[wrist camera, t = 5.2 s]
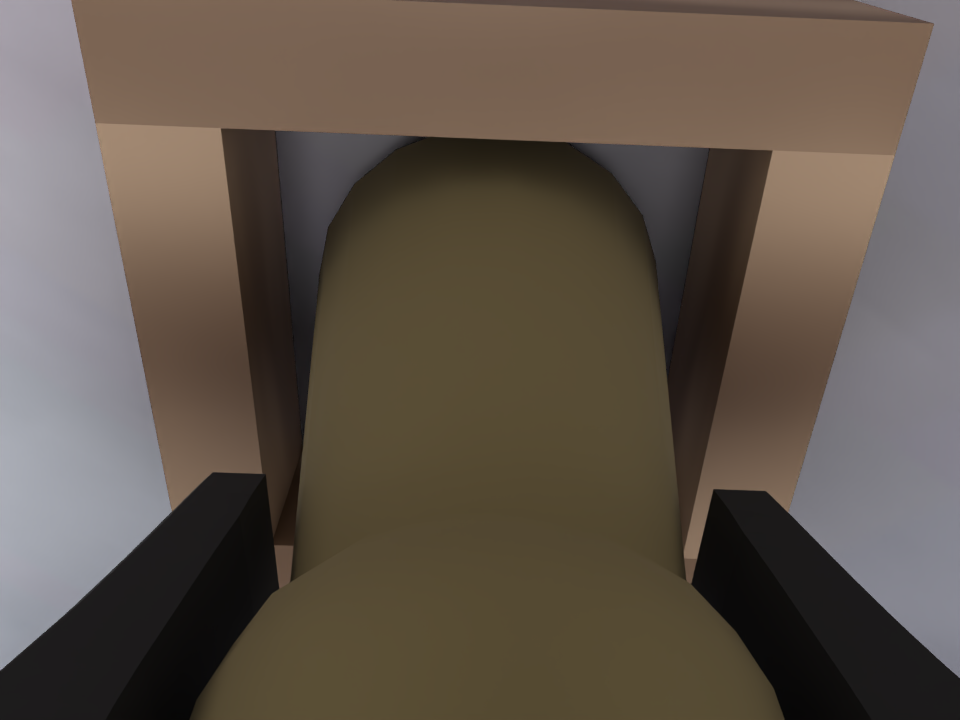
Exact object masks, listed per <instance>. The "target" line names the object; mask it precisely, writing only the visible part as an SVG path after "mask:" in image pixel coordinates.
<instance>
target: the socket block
mask: <svg viewBox="0 0 960 720" xmlns="http://www.w3.org/2000/svg"><path fill="white" fill-rule="evenodd" d="M71 2H72V7H73V12H74V17H75V22H76V27H77V32H78V37H79V42H80V47H81V52H82V57H83V62H84V68H85V73H86V78H87V83H88V88H89V93H90V98H91V103H92V108H93V113H94V118H95V123H96V128H97V134H98V139H99V144H100V149H101V154H102V159H103V164H104V169H105V174H106V179H107V184H108V189H109V194H110V200H111V205H112V210H113V215H114V220H115V225H116V230H117V235H118V240H119V245H120V250H121V255H122V260H123V266H124V271H125V276H126V281H127V286H128V291H129V296H130V301H131V306H132V311H133V316H134V321H135V326H136V332H137V337H138V342H139V347H140V352H141V357H142V362H143V367H144V372H145V377H146V382H147V387H148V392H149V397H150V403H151V408H152V413H153V418H154V423H155V428H156V433H157V438H158V443H159V448H160V453H161V458H162V463H163V469H164V474H165V479H166V484H167V489H168V494H169V499H170V504H171V509H172V511H173V510H174V509H175V508H176V507H177V506H178V505H179V504H180V503H181V502H182V501H183V500H184V499H185V498H186V497H187V496H188V495H189V494H190V493H191V492H192V491H193V490H194V489H195V488H196V487H197V486H198V485H199V484H200V483H201V482H203V481H204V480H205V479H206V478H207V477H208V476H209V475H210V474H211V473H213V472H222V473H252V474H266V480H267V489H268V497H269V505H270V514H271V522H272V531H273V539H274V548H275V556H276V565H277V573H278V581H279V589H280V588H282V587H283V586H285V585H287V584H288V583H290V578H291V568H292V557H293V547H294V536H295V526H296V515H297V505H298V494H299V484H300V473H301V462H302V452H303V446H302V435H301V423H300V412H299V400H298V389H297V378H296V366H295V355H294V343H293V332H292V320H291V309H290V297H289V286H288V275H287V263H286V252H285V240H284V229H283V217H282V206H281V195H280V183H279V172H278V160H277V149H276V137H275V130H277V131H302V132H327V133H351V134H376V135H401V136H426V137H451V138H475V139H500V140H525V141H550V142H575V143H599V144H624V145H649V146H674V147H699V148H710V150H709V156H708V161H707V167H706V172H705V178H704V183H703V189H702V194H701V199H700V205H699V210H698V216H697V221H696V227H695V232H694V238H693V243H692V249H691V254H690V260H689V265H688V271H687V276H686V282H685V287H684V293H683V298H682V304H681V309H680V315H679V320H678V326H677V331H676V337H675V342H674V348H673V353H672V359H671V364H670V370H669V375H668V381H667V384H668V394H669V404H670V415H671V425H672V436H673V446H674V457H675V467H676V477H677V488H678V498H679V509H680V519H681V530H682V540H683V550H684V561H685V571H686V581H687V582H689V583H690V584H691V583H692V578H693V574H694V570H695V565H696V561H697V557H698V553H699V548H700V544H701V540H702V536H703V531H704V527H705V523H706V519H707V514H708V510H709V506H710V502H711V497H712V493H713V489H725V490H755V491H766V492H768V493H769V494H770V495H771V496H772V497H773V498H774V499H775V500H776V501H777V502H778V503H779V504H780V505H781V506H782V507H783V508H784V509H785V510H786V511H787V512H788V511H789V508H790V504H791V501H792V498H793V494H794V491H795V488H796V484H797V481H798V478H799V474H800V471H801V468H802V464H803V461H804V457H805V454H806V451H807V447H808V444H809V441H810V437H811V434H812V431H813V427H814V424H815V421H816V417H817V414H818V411H819V407H820V404H821V401H822V397H823V394H824V391H825V387H826V384H827V380H828V377H829V374H830V370H831V367H832V364H833V360H834V357H835V354H836V350H837V347H838V344H839V340H840V337H841V334H842V330H843V327H844V324H845V320H846V317H847V314H848V310H849V307H850V304H851V300H852V297H853V293H854V290H855V287H856V283H857V280H858V277H859V273H860V270H861V267H862V263H863V260H864V257H865V253H866V250H867V247H868V243H869V240H870V237H871V233H872V230H873V227H874V223H875V220H876V216H877V213H878V210H879V206H880V203H881V200H882V196H883V193H884V190H885V186H886V183H887V180H888V176H889V173H890V170H891V166H892V163H893V160H894V156H895V153H896V150H897V146H898V143H899V139H900V136H901V133H902V129H903V126H904V123H905V119H906V116H907V113H908V109H909V106H910V103H911V99H912V96H913V93H914V89H915V86H916V83H917V79H918V76H919V73H920V69H921V66H922V62H923V59H924V56H925V52H926V49H927V46H928V42H929V39H930V36H931V32H932V29H933V26H934V24H933V23H930V22H926V21H923V20H920V19H916V18H913V17H909V16H906V15H902V14H899V13H895V12H892V11H888V10H885V9H882V8H878V7H875V6H871V5H868V4H864V3H861V2H857V1H854V0H71Z"/></svg>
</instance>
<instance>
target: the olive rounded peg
mask: <svg viewBox="0 0 960 720" xmlns="http://www.w3.org/2000/svg"><path fill="white" fill-rule="evenodd" d="M189 720H785V719H784V716H783V713H782V710H781V708H780V705H779V702H778V699H777V696H776V693H775V691H774V688H773V687H772V685H771V684H770V682H769V681H768V679H767V678H766V676H765V675H764V673H763V672H762V670H761V669H760V667H759V666H758V664H757V663H756V661H755V660H754V658H753V656H752V655H751V653H750V652H749V650H748V649H747V647H746V646H745V644H744V643H743V641H742V640H741V638H740V637H739V635H738V634H737V632H736V631H735V630H734V629H733V628H732V627H731V626H730V625H729V624H728V623H727V622H726V621H725V619H724V618H723V617H722V616H721V615H720V614H719V613H718V612H717V611H716V610H715V609H714V608H713V607H712V606H711V605H710V604H709V603H708V602H707V601H706V599H705V598H704V597H703V596H702V595H701V594H700V593H699V592H698V591H697V590H696V589H695V588H694V587H693V586H692V585H691V584H690V583H689V582H687V581H686V571H685V561H684V550H683V540H682V530H681V519H680V509H679V498H678V488H677V477H676V467H675V457H674V446H673V436H672V425H671V415H670V404H669V394H668V384H667V373H666V363H665V352H664V342H663V331H662V321H661V311H660V300H659V290H658V279H657V269H656V261H655V258H654V254H653V251H652V247H651V244H650V240H649V236H648V233H647V229H646V226H645V222H644V219H643V215H642V214H641V213H640V211H639V210H638V209H637V207H636V206H635V204H634V203H633V202H632V200H631V199H630V198H629V196H628V195H627V194H626V192H625V191H624V189H623V188H622V187H621V185H620V184H619V183H618V181H617V180H616V179H615V177H614V176H613V174H612V173H610V172H609V171H607V170H606V169H604V168H603V167H601V166H600V165H598V164H597V163H596V162H594V161H593V160H591V159H590V158H588V157H587V156H585V155H584V154H582V153H581V152H579V151H578V150H576V149H575V148H573V147H572V146H571V145H569V144H568V143H566V142H550V141H525V140H500V139H475V138H451V137H428V138H426V139H423V140H420V141H418V142H415V143H412V144H410V145H407V146H404V147H402V148H399V149H397V150H395V151H394V152H393V153H392V154H390V155H389V156H388V157H387V158H386V159H384V160H383V161H382V162H381V163H379V164H378V165H377V166H376V167H374V168H373V169H372V170H371V171H370V172H368V173H367V174H366V175H365V176H363V177H362V178H361V179H360V180H359V181H357V182H356V183H355V184H354V185H353V187H352V189H351V190H350V192H349V194H348V195H347V197H346V199H345V200H344V202H343V204H342V205H341V207H340V209H339V210H338V212H337V214H336V215H335V217H334V219H333V220H332V222H331V224H330V225H329V227H328V231H327V237H326V242H325V247H324V253H323V258H322V263H321V269H320V274H319V284H318V294H317V305H316V315H315V326H314V336H313V347H312V357H311V368H310V378H309V389H308V399H307V410H306V420H305V431H304V441H303V452H302V462H301V473H300V484H299V494H298V505H297V515H296V526H295V536H294V547H293V557H292V568H291V578H290V583H288V584H287V585H285V586H283V587H282V588H280V589H279V590H277V591H275V592H274V593H272V594H271V595H270V597H269V598H268V599H267V601H266V602H265V603H264V604H263V606H262V607H261V608H260V610H259V611H258V612H257V614H256V615H255V616H254V617H253V619H252V620H251V621H250V623H249V624H248V625H247V627H246V628H245V629H244V630H243V632H242V633H241V634H240V636H239V637H238V638H237V640H236V641H235V642H234V644H233V645H232V647H231V648H230V650H229V651H228V653H227V654H226V656H225V657H224V659H223V660H222V662H221V663H220V665H219V666H218V668H217V669H216V671H215V673H214V674H213V676H212V677H211V679H210V680H209V682H208V683H207V685H206V686H205V688H204V689H203V691H202V692H201V694H200V695H199V697H198V698H197V700H196V703H195V705H194V708H193V711H192V714H191V717H190V719H189Z"/></svg>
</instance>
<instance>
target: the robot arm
mask: <svg viewBox="0 0 960 720" xmlns="http://www.w3.org/2000/svg"><path fill="white" fill-rule="evenodd" d="M691 585H692V586H693V587H694V588H695V589H696V590H697V591H698V592H699V593H700V594H701V595H702V596H703V597H704V598H705V599H706V601H707V602H708V603H709V604H710V605H711V606H712V607H713V608H714V609H715V610H716V611H717V612H718V613H719V614H720V615H721V616H722V617H723V618H724V619H725V621H726V622H727V623H728V624H729V625H730V626H731V627H732V628H733V629H734V630H735V631H736V632H737V634H738V635H739V637H740V638H741V640H742V641H743V643H744V644H745V646H746V647H747V649H748V650H749V652H750V653H751V655H752V656H753V658H754V660H755V661H756V663H757V664H758V666H759V667H760V669H761V670H762V672H763V673H764V675H765V676H766V678H767V679H768V681H769V682H770V684H771V685H772V687H773V688H774V691H775V693H776V696H777V699H778V702H779V705H780V708H781V710H782V713H783V716H784V719H785V720H960V678H959V677H958V676H956V675H955V674H954V673H953V672H952V671H951V670H950V669H948V668H947V667H946V666H945V665H944V664H943V663H942V662H941V661H940V660H939V659H937V658H936V657H935V656H934V655H933V654H932V653H931V652H930V651H929V650H928V649H927V648H925V647H924V646H923V645H922V644H921V643H920V642H919V641H918V640H917V639H916V638H915V637H914V636H912V635H911V634H910V633H909V632H908V631H907V630H906V629H905V628H904V627H903V626H902V625H901V624H900V623H899V622H898V621H897V620H896V619H894V618H893V617H892V616H891V615H890V614H889V613H888V612H887V611H886V610H885V609H884V608H883V607H882V606H881V605H880V604H879V603H878V602H877V601H876V600H875V599H874V598H873V597H872V596H871V595H870V594H869V593H868V592H867V591H866V590H865V589H864V588H863V587H862V586H861V585H860V584H858V583H857V582H856V581H855V580H854V579H853V578H852V577H851V576H850V575H849V574H848V573H847V572H846V571H845V570H844V569H843V568H842V567H841V566H840V565H839V564H838V563H837V562H836V561H835V560H834V559H833V558H832V557H831V556H830V555H829V554H828V553H827V551H826V550H825V549H824V548H823V547H822V546H821V545H820V544H819V543H818V542H817V541H816V540H815V539H814V538H813V537H812V536H811V535H810V534H809V533H808V532H807V531H806V530H805V529H804V528H803V527H802V526H801V525H800V524H799V523H798V522H797V521H796V520H795V519H794V518H793V517H792V516H791V515H790V514H789V513H788V512H787V511H786V510H785V509H784V508H783V507H782V506H781V505H780V504H779V503H778V502H777V501H776V500H775V499H774V498H773V497H772V496H771V495H770V494H769V493H768V492H766V491H755V490H725V489H713V493H712V497H711V502H710V506H709V510H708V514H707V519H706V523H705V527H704V531H703V536H702V540H701V544H700V548H699V553H698V557H697V561H696V565H695V570H694V574H693V578H692V583H691ZM277 590H279V581H278V573H277V565H276V556H275V548H274V539H273V531H272V522H271V514H270V505H269V497H268V489H267V480H266V474H252V473H222V472H213V473H211V474H210V475H209V476H208V477H207V478H206V479H205V480H204V481H203V482H201V483H200V484H199V485H198V486H197V487H196V488H195V489H194V490H193V491H192V492H191V493H190V494H189V495H188V496H187V497H186V498H185V499H184V500H183V501H182V502H181V503H180V504H179V505H178V506H177V507H176V508H175V509H174V510H173V511H172V512H171V513H170V514H169V515H168V516H167V517H166V518H165V519H164V520H163V521H162V522H161V523H160V524H159V525H158V526H157V527H156V528H155V529H154V530H153V531H152V532H151V533H150V534H149V535H148V536H147V537H146V538H145V539H144V540H143V541H142V542H141V543H140V544H139V545H138V546H137V547H136V548H135V549H134V550H133V551H132V552H131V553H130V554H129V555H128V556H127V557H126V558H125V559H124V560H123V561H121V562H120V563H119V564H118V565H117V566H116V567H115V568H114V569H113V570H112V571H111V572H110V573H109V574H108V575H107V576H106V577H105V578H103V579H102V580H101V581H100V582H99V583H98V584H97V585H96V586H95V587H94V588H93V589H92V590H91V591H90V592H89V593H88V594H87V595H85V596H84V597H83V598H82V599H81V600H80V601H79V602H78V603H77V604H76V605H75V606H74V607H73V608H72V609H70V610H69V611H68V612H67V613H66V614H65V615H64V616H63V617H62V618H61V619H59V620H58V621H57V622H56V623H55V624H54V625H52V626H51V627H50V628H49V629H48V630H47V631H46V632H44V633H43V634H42V635H41V636H40V637H39V638H37V639H36V640H35V641H34V642H33V643H32V644H31V645H29V646H28V647H27V648H26V649H25V650H24V651H22V652H21V653H20V654H19V655H18V656H17V657H16V658H14V659H13V660H12V661H11V662H10V663H9V664H7V665H6V666H5V667H4V668H3V669H2V670H1V671H0V720H189V719H190V717H191V714H192V711H193V708H194V705H195V703H196V700H197V698H198V697H199V695H200V694H201V692H202V691H203V689H204V688H205V686H206V685H207V683H208V682H209V680H210V679H211V677H212V676H213V674H214V673H215V671H216V669H217V668H218V666H219V665H220V663H221V662H222V660H223V659H224V657H225V656H226V654H227V653H228V651H229V650H230V648H231V647H232V645H233V644H234V642H235V641H236V640H237V638H238V637H239V636H240V634H241V633H242V632H243V630H244V629H245V628H246V627H247V625H248V624H249V623H250V621H251V620H252V619H253V617H254V616H255V615H256V614H257V612H258V611H259V610H260V608H261V607H262V606H263V604H264V603H265V602H266V601H267V599H268V598H269V597H270V595H271V594H272V593H274V592H275V591H277Z"/></svg>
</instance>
